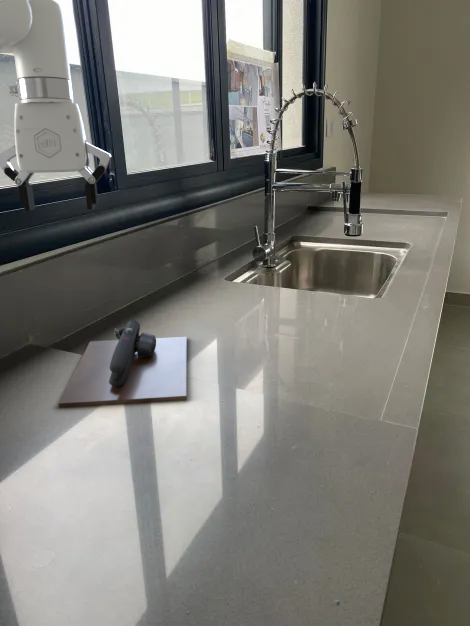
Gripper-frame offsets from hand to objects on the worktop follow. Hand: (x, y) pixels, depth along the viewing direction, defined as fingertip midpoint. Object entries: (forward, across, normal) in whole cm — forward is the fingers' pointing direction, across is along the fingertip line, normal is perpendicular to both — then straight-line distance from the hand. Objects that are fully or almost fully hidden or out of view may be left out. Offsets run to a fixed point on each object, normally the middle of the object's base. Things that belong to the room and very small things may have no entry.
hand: (60, 209), depth 80 cm
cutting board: (+26, +10, -7) cm, 29 cm away
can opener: (+25, +10, -7) cm, 28 cm away
